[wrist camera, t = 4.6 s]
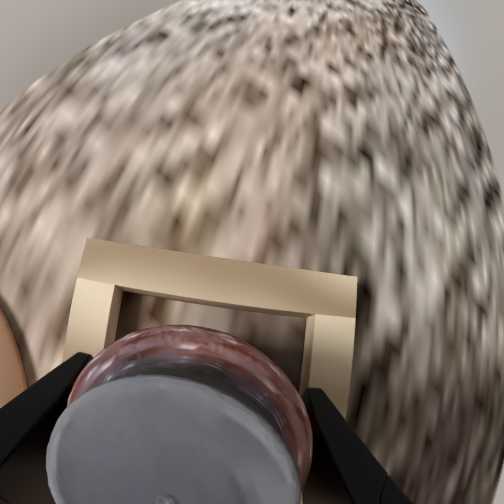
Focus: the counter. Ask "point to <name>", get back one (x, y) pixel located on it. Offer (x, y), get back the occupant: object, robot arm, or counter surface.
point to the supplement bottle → (180, 425)
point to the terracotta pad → (9, 364)
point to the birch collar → (219, 302)
